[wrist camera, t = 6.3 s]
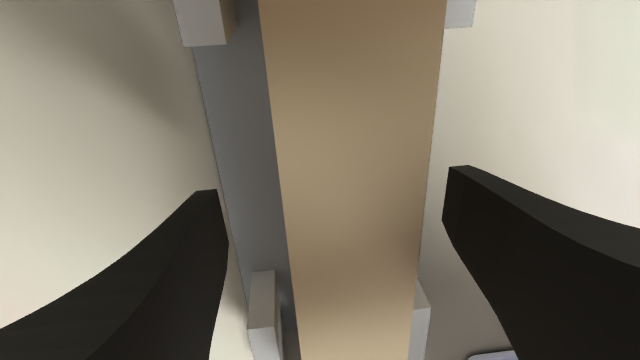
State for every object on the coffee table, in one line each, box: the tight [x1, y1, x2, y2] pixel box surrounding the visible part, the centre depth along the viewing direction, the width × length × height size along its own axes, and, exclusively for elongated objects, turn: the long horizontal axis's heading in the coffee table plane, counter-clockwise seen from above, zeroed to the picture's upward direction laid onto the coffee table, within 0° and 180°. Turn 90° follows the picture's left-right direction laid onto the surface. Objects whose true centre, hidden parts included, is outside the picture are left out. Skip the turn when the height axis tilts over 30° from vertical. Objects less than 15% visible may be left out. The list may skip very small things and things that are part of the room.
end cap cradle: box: [173, 0, 476, 360], centre depth 13 cm, size 24×8×4 cm, turn 3°
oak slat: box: [258, 0, 447, 360], centre depth 11 cm, size 16×3×6 cm, turn 3°
